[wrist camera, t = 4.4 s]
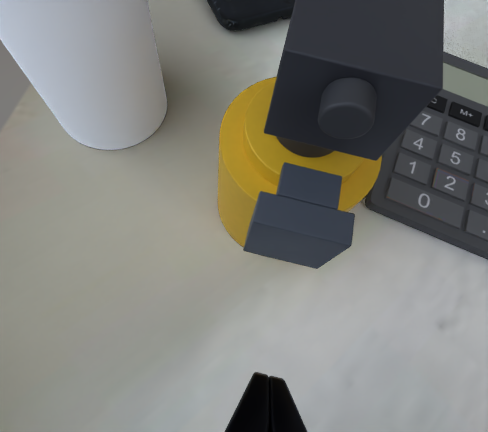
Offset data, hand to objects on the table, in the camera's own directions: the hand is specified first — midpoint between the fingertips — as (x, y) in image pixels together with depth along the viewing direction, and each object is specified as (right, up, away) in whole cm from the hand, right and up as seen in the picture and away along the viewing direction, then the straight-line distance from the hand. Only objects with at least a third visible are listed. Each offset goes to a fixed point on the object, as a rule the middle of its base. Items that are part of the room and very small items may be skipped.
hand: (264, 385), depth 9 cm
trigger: (+1, +4, +3) cm, 5 cm away
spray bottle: (+1, +5, +12) cm, 13 cm away
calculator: (+15, +9, +15) cm, 23 cm away
